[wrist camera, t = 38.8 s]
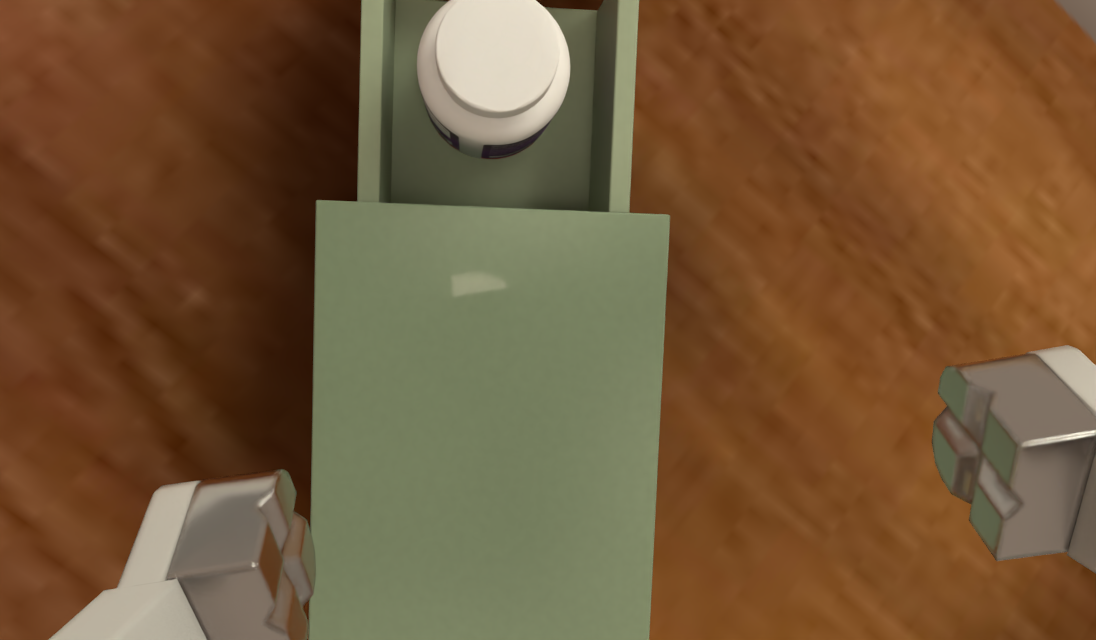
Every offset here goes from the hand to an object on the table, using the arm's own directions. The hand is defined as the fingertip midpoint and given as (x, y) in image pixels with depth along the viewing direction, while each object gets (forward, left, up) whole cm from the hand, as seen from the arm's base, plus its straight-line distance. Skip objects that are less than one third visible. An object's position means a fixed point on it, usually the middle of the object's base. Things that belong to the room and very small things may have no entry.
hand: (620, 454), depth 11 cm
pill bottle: (-1, +9, -29) cm, 30 cm away
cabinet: (-1, -5, -30) cm, 31 cm away
